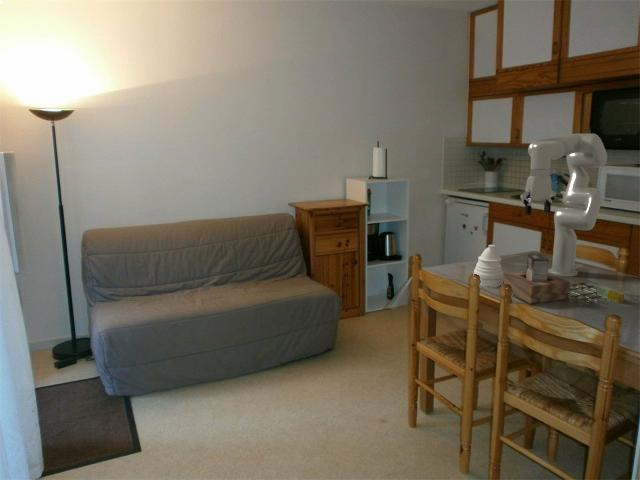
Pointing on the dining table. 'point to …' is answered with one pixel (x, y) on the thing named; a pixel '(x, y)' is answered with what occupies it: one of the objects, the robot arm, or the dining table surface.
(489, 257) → the honey pot
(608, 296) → the medication box
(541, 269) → the coffee box
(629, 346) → the dining table surface
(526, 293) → the well block
